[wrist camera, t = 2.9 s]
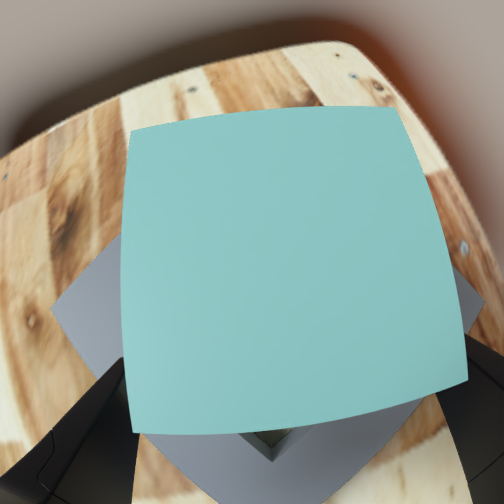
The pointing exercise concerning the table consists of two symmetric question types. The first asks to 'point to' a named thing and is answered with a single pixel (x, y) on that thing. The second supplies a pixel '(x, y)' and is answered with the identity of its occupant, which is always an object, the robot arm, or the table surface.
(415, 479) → the table surface
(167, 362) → the teal peg
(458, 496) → the table surface
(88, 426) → the robot arm
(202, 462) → the collar board
